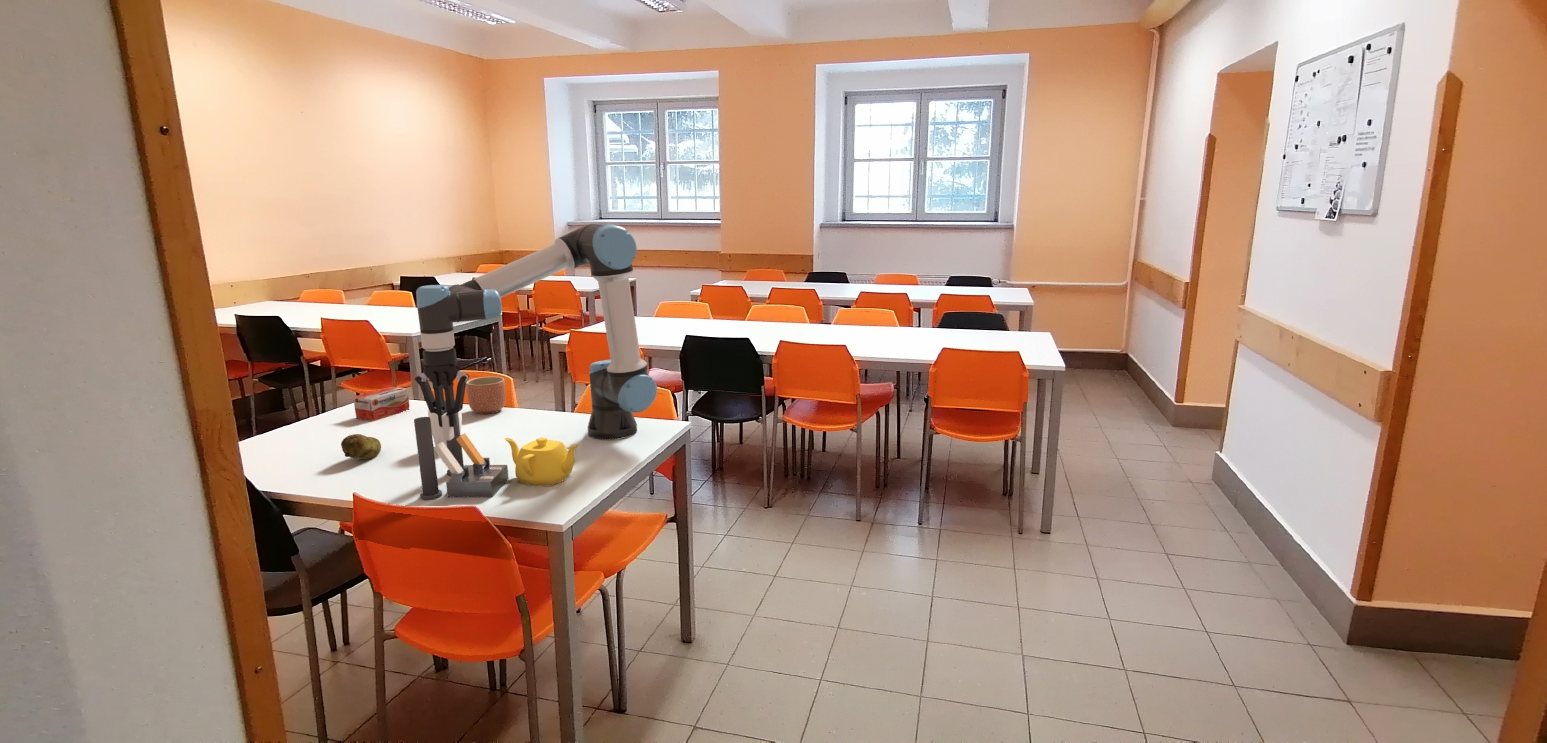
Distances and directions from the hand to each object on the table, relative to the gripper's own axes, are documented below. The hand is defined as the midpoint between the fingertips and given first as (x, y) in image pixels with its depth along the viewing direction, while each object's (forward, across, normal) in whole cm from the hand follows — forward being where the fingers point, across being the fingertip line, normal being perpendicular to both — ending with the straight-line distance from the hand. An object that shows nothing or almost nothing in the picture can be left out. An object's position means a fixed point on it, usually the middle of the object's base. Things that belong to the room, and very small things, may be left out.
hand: (449, 438), depth 192 cm
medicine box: (+13, +50, -64) cm, 83 cm away
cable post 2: (+12, +2, -8) cm, 15 cm away
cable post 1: (+12, +2, +8) cm, 15 cm away
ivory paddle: (+7, -4, +7) cm, 11 cm away
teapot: (+13, -22, -3) cm, 25 cm away
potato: (+13, +34, -20) cm, 41 cm away
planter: (+13, +16, -67) cm, 70 cm away
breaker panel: (+12, -8, +3) cm, 15 cm away
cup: (+13, +14, -29) cm, 34 cm away
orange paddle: (+7, -8, 0) cm, 10 cm away
